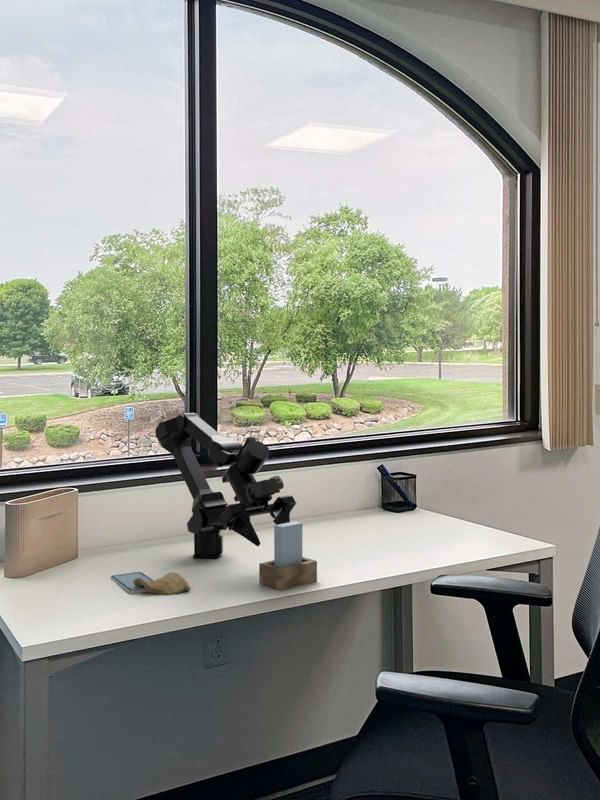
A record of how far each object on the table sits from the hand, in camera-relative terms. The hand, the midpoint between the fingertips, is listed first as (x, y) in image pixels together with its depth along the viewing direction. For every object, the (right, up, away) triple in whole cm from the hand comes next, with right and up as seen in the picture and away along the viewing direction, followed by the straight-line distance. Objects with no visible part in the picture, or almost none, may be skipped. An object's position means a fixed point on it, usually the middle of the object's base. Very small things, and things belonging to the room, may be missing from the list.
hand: (275, 541), depth 176 cm
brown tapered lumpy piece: (-24, -9, -7) cm, 27 cm away
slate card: (+3, -8, -3) cm, 9 cm away
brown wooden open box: (+3, -8, -3) cm, 9 cm away
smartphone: (-31, -9, -3) cm, 32 cm away
